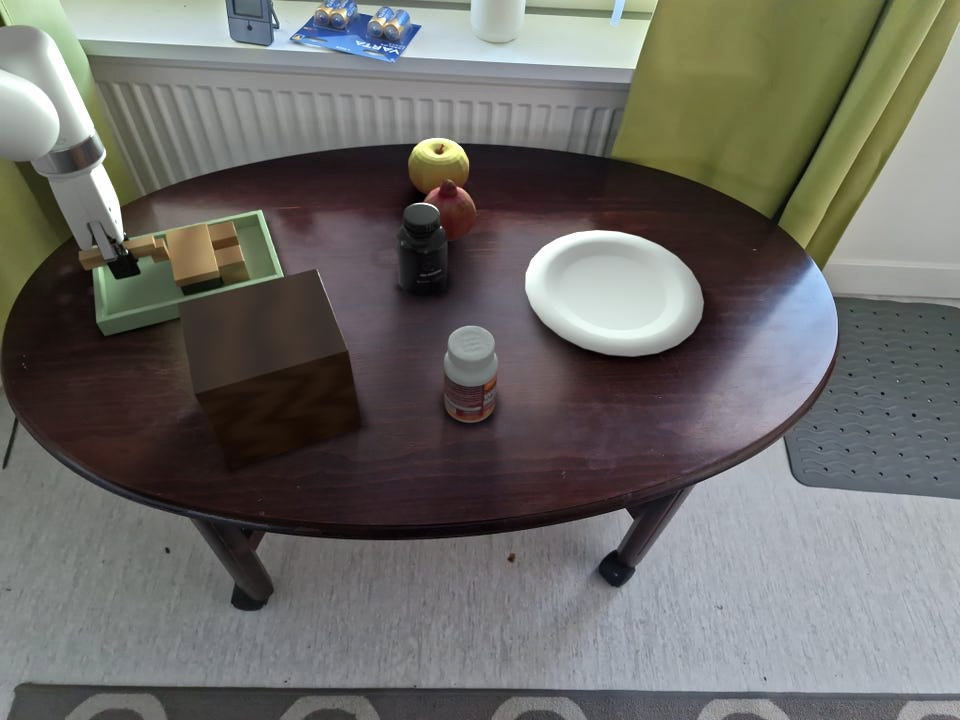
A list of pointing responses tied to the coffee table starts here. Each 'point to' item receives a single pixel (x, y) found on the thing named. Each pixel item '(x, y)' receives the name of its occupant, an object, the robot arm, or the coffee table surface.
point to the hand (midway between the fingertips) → (127, 269)
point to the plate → (614, 293)
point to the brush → (173, 257)
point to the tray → (157, 290)
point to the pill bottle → (470, 374)
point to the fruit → (453, 209)
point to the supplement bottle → (422, 251)
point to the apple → (437, 164)
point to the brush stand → (270, 366)
